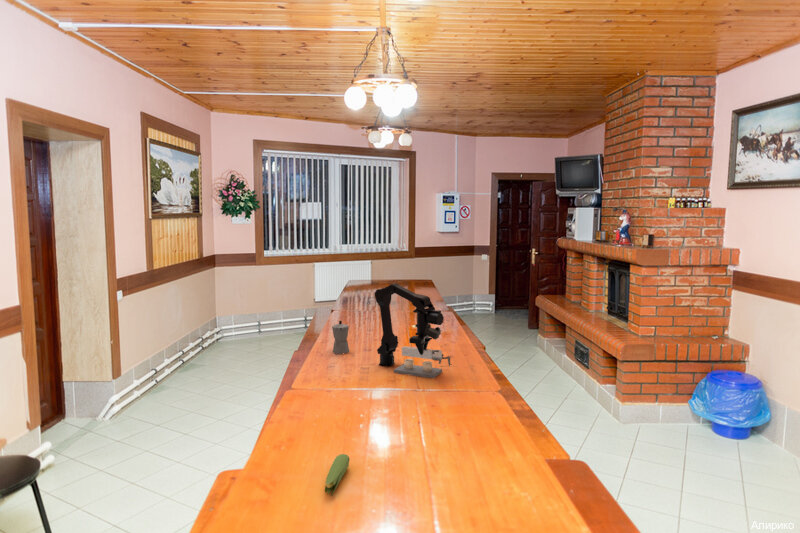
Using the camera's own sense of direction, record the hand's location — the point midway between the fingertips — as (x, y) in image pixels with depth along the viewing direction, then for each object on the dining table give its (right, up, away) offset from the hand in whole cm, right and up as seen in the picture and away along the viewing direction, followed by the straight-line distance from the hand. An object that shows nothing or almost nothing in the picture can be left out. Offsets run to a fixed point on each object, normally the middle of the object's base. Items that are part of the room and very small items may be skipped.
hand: (422, 353), depth 250 cm
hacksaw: (+14, -8, +20) cm, 26 cm away
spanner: (0, -2, 0) cm, 2 cm away
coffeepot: (-44, -6, +41) cm, 61 cm away
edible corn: (-30, -21, -99) cm, 105 cm away
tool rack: (-2, -9, +2) cm, 10 cm away
